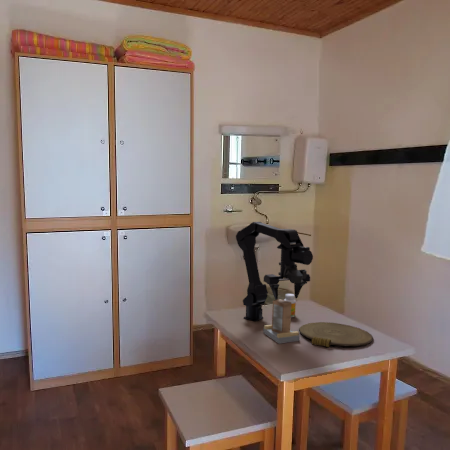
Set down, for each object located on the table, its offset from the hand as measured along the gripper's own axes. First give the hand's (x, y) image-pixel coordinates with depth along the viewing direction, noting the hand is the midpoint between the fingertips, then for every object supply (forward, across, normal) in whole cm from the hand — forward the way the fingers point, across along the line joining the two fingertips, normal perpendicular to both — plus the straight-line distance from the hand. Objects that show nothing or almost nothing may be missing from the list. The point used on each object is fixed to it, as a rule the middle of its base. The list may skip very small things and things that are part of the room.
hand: (286, 299), depth 175 cm
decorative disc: (+14, +16, -12) cm, 24 cm away
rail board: (+13, -5, -6) cm, 15 cm away
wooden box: (+11, -5, -6) cm, 14 cm away
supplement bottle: (+13, +12, +16) cm, 24 cm away
